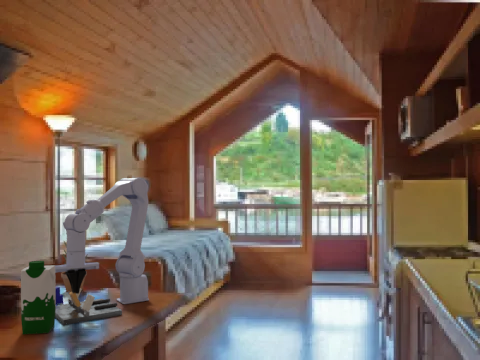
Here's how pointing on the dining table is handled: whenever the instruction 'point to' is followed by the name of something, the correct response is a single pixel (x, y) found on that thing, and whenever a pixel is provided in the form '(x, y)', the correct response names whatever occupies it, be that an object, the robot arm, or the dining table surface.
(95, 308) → the cords
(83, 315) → the panel
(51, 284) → the milk carton
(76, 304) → the orange paddle
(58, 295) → the cable clip
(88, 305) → the ivory paddle
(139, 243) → the robot arm
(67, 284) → the potted plant
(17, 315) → the dining table surface
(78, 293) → the ivory paddle
